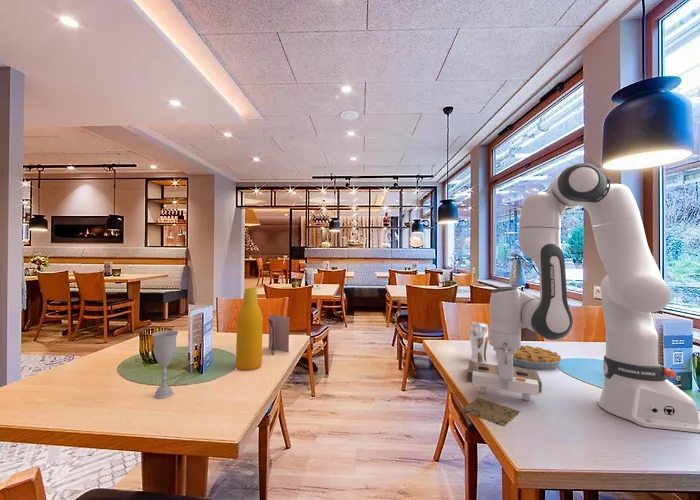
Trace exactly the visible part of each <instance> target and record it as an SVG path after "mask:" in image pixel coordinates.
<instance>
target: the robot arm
mask: <svg viewBox="0 0 700 500" xmlns="http://www.w3.org/2000/svg"><path fill="white" fill-rule="evenodd" d="M580 206H581V207H582V208H584V209H585V210H586V212H587V213H588V215H589V217H590V223H591V224H590V225H591V227H592V228H591V229H592V233H593V236H594V242H595V246H596V251H597V255H598V256H599V258H600V260H601V262H602V264H603V267H604V270H605V272H606V275H605V276H604V277H603V278H602V280H601V282H600V293H601V303H602V311H603V312H602V313H603V318H604V324H605V355H604V356H603V361H602V372H603V376H604V378H603V379H604V381H603V385H602V390H601V393H600V394H601V395H600V397H599V400H598V402H597V404H598V405H599V407H600V408H602V409H603V410H605V411H606V412H608V413H610V414H612V415H615V416H617V417H620V418H623V419H625V420H627V421H628V420H629V421H631V422H633V423H634V424H637V425H638V426H641V427H645V428H651V429H652V428H655V429H664V430H672V431H681V432H689V433H700V414H699V409H698V407H697V404H696V402H695V400H694V399H693V398H692V397H691V396H690V395H688V394H687V393H686V392H684V391H683V390H682V389H680V388H679V387H678V386H677V385H675V384H674V383H673V382H672V381H670V380H669V379H667V378H670V379H675V378H676V377H677V372H676V371H674V370H672V369H671V368H666V366H663V365H661V364H660V363H659V334H658V332H657V329H656V327H655V324H654V320H653V315H652V313H655V312H656V313H657V312H659V311H662V310H663V309H665V308H666V307H667V306H668V304H669V303H670V301H671V297H672V294H671V293H672V292H671V289H670V287H669V285H668V284H667V283H666V282H665V281H664V279H663V277H662V274H661V273H660V269H659V268H658V264H657V263H656V260H655V259H654V256H653V255H652V253H651V249H650V248H649V245H648V241H647V237H646V233H645V228H644V224H643V219H642V216H641V212H640V209H639V207H638V204H637V201H636V199H635V197H634V195H633V193H632V191H631V189H630V188H629V187H628V186H627V185H625V184H620V183H612V182H611V180H610V179H609V178H608V177H607V176H606V175H605V174H604V173H603V171H602V170H601V169H600V168H599V167H597V166H596V165H594V164H593V163H588V162H579V163H574V164H572V165H570V166H567V167H565V169H563V171H561V172H560V173H558V175H557V176H556V177H555V178H554V180H553V182H552V183H550V185H549V186H548V187H547V189H546V191H540V192H535V193H531V194H530V195H528V196H526V197H525V199H524V200H523V204H522V206H521V211H520V216H519V225H518V243H519V249H520V251H521V252H522V253H523V254H524V255H526V257H528V258H529V259H530V260H532V262H533V263H534V264H535V265H536V267H537V270H538V273H539V274H538V275H539V298H537V297H535V296H533V295H530V294H528V293H526V292H524V291H522V290H521V289H520V288H519V287H516V286H512V285H511V286H510V285H509V286H501V287H500V286H499V287H497V288H494V290H492V292H491V294H490V299H489V310H488V311H489V313H488V314H489V319H490V320H489V321H490V324H489V325H488V344H489V345H490V346H491V347H492V348H493V351H494V352H495V354H496V361H497V365H498V375H499V379H500V380H501V388H502V389H504V390H503V391H508V382H509V381H513V367H514V365H513V354H514V353H516V349H519V348H521V346H522V341H521V339H522V329H528V330H530V331H531V332H534V333H536V334H537V335H539V336H540V337H541V338H543V339H546V340H548V341H556V340H561V339H563V338H564V337H566V336H568V334H569V333H570V331H571V330H572V327H573V324H574V319H573V318H574V317H573V314H572V311H571V308H570V306H569V304H568V303H569V302H568V293H567V276H566V275H567V273H566V261H565V260H566V259H565V256H564V252H563V249H562V243H561V242H562V241H561V229H562V227H561V226H562V225H561V224H562V222H561V221H562V220H561V219H562V215H563V213H564V212H565V211H568V210H572V209H576V208H578V207H580Z"/></svg>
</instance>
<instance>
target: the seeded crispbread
mask: <svg viewBox="0 0 700 500" xmlns="http://www.w3.org/2000/svg"><path fill="white" fill-rule="evenodd" d="M460 411H461V412H464V413H467V414H469V415H471V416H474V417H477V418H479V419H482V420H485V421H487V422H490V423H492V422H493V423H492V424H495V423H496V424H495V425H498V426H500V425H501V426H500V427H503V426H504V427H505V425H506V424H507V423H508V422H509V421H510V422H511V421H512V420H514V418H513V417H515V416H516V415H517V416H518V415H519V414H520V413H521V410H517V409H515V408H512V407H509V406H505V405H502V404H499V403H497V402H494V401H490V400H489V399H484V398H481V397H476V398H475V399H473V401H471V402H469V403H468V404H466V405H465V404H464V406H463V407H462V408H460ZM519 412H520V413H519ZM518 413H519V414H518ZM517 416H516V417H517ZM516 417H515V418H516ZM511 419H512V420H511ZM510 422H509V423H510ZM509 423H508V424H509ZM508 424H507V425H508ZM507 425H506V426H507Z"/></svg>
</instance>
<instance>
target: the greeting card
mask: <svg viewBox="0 0 700 500" xmlns="http://www.w3.org/2000/svg"><path fill="white" fill-rule="evenodd" d="M268 315H269V316H268V317H269V318H267V320H268V349H269V351H270V352H271V353H272V355H273V356H275V351H279V352H284V353H289V349H290V348H289V347H290V346H289V345H290V344H289V343H290V340H289V339H290V317H289V316H284V315H283V316H282V315H276V314H268Z"/></svg>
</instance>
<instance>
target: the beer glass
mask: <svg viewBox="0 0 700 500" xmlns="http://www.w3.org/2000/svg"><path fill="white" fill-rule="evenodd" d="M469 326H470V327H469V328H470V329H469V338H470V339H469V340H470V346H471V355H470V356H471V357H470V362H477V363H484V364H488V363H487V362H488V361H487V347H488V344H489V324H488V323H483V322H470V325H469Z"/></svg>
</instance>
